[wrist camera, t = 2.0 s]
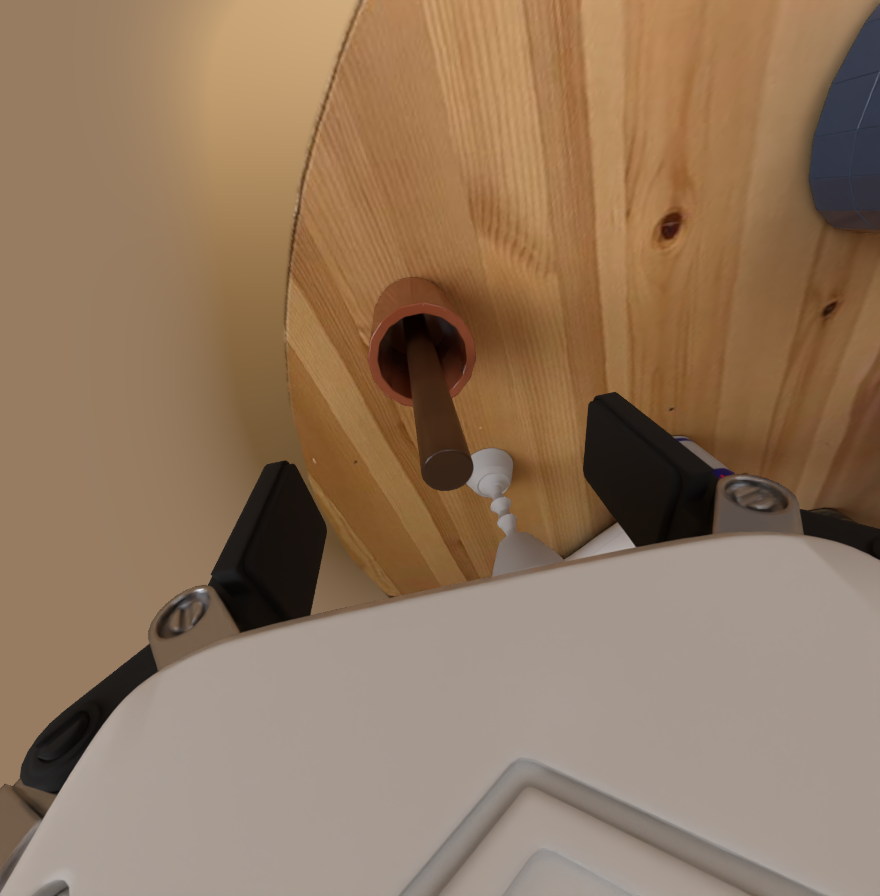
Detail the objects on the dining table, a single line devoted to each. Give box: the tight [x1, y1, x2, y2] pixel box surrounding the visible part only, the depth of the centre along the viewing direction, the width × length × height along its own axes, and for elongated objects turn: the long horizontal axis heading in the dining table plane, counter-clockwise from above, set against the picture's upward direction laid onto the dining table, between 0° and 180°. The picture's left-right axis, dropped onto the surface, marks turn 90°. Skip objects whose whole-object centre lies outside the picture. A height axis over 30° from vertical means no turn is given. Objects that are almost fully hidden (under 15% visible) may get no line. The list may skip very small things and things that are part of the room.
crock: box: [368, 277, 476, 407], centre depth 22 cm, size 6×6×8 cm
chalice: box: [466, 448, 565, 576], centre depth 26 cm, size 7×7×18 cm
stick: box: [403, 313, 474, 491], centre depth 17 cm, size 2×2×17 cm
